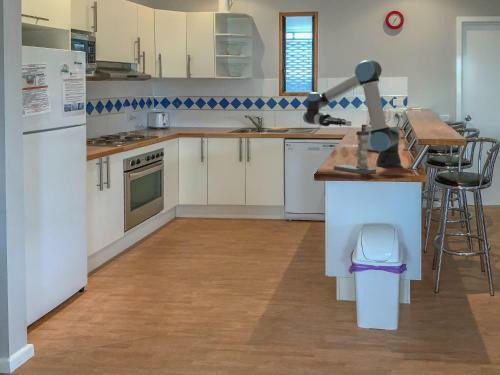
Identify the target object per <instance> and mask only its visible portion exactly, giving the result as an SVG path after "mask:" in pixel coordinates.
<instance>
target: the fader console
mask: <svg viewBox="0 0 500 375" xmlns="http://www.w3.org/2000/svg"><path fill="white" fill-rule="evenodd" d="M356 166H357V165H351V164H350V165H349V164H340V165H339V164H338V165H333V170H338V171H342V170H343V171H342V172H348V171H349V173H355V174H360V175H361V174H362V175H369V173H370V174H376V173H377V169H375V168H371V167H368V168H367V169H358V168H356Z"/></svg>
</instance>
